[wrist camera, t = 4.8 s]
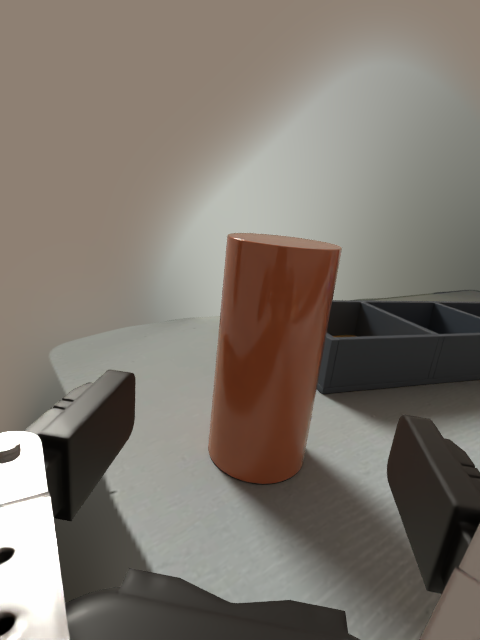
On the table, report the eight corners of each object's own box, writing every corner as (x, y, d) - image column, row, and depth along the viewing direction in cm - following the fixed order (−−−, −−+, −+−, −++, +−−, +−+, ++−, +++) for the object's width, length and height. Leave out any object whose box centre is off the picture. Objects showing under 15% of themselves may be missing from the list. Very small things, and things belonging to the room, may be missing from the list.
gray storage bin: (322, 394, 30) (332, 340, 28) (264, 341, 39) (270, 299, 38) (580, 370, 41) (596, 331, 40) (485, 334, 51) (495, 301, 50)
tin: (225, 492, 19) (252, 244, 15) (198, 428, 23) (213, 230, 20) (321, 475, 21) (366, 252, 17) (278, 419, 25) (305, 237, 22)
